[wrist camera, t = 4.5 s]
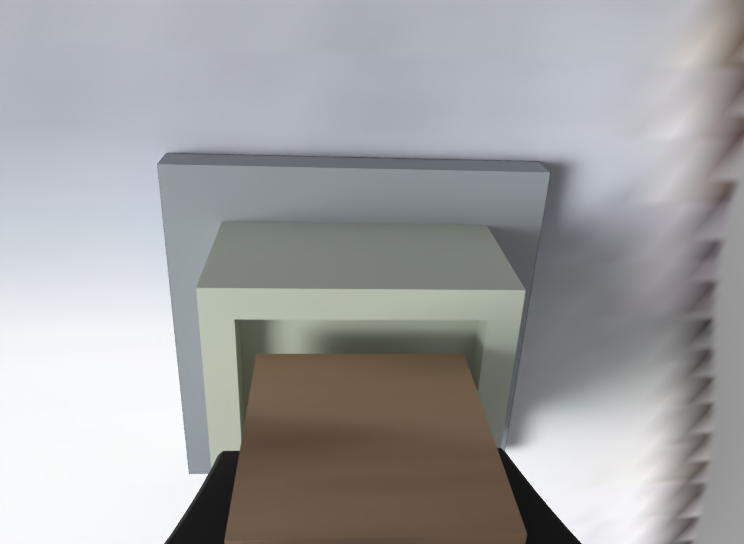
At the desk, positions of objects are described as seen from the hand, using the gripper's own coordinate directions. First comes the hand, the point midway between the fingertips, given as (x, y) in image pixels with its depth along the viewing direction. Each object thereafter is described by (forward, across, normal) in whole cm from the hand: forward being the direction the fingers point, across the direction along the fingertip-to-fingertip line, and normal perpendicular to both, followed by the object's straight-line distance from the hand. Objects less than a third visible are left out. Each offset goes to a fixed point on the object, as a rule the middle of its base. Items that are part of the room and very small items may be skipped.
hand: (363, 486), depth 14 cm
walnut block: (+2, 0, 0) cm, 2 cm away
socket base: (+7, 0, 0) cm, 7 cm away
